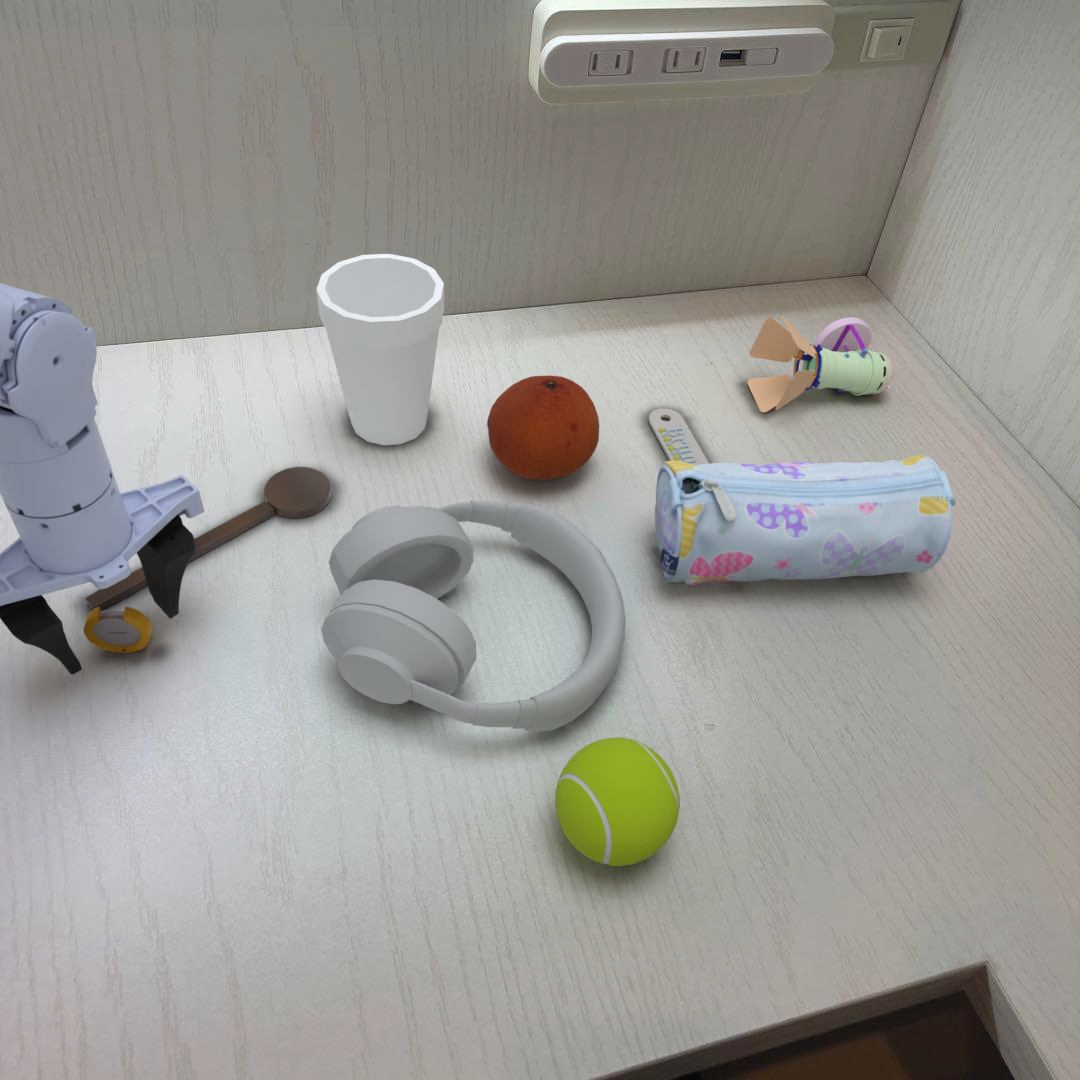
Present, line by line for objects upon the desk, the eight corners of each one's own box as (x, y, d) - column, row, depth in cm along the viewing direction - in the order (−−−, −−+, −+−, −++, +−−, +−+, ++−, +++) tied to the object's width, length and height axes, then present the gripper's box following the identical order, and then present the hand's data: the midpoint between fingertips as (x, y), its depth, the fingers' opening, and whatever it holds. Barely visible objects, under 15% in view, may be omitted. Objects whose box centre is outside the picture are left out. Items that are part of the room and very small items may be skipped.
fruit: (568, 418, 84) (577, 341, 78) (609, 486, 78) (621, 408, 73) (471, 437, 81) (472, 358, 76) (506, 508, 76) (510, 429, 70)
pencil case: (653, 605, 70) (675, 512, 63) (636, 520, 76) (654, 426, 69) (931, 600, 72) (981, 509, 65) (893, 517, 78) (935, 425, 71)
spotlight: (766, 425, 85) (803, 358, 80) (737, 362, 90) (771, 296, 85) (882, 432, 89) (926, 369, 83) (848, 372, 94) (887, 308, 88)
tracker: (93, 653, 64) (76, 616, 61) (96, 643, 65) (79, 606, 62) (155, 652, 64) (142, 615, 62) (158, 642, 65) (144, 605, 62)
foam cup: (309, 420, 82) (290, 284, 72) (390, 373, 87) (382, 241, 77) (388, 473, 78) (378, 337, 68) (467, 421, 83) (469, 288, 73)
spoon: (109, 630, 65) (106, 622, 65) (73, 588, 68) (70, 581, 67) (344, 497, 76) (343, 490, 75) (306, 465, 78) (304, 457, 77)
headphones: (309, 750, 59) (624, 765, 63) (314, 675, 54) (659, 696, 57) (333, 533, 72) (594, 556, 76) (339, 454, 66) (620, 484, 70)
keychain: (644, 407, 84) (676, 403, 85) (643, 413, 85) (675, 409, 85) (689, 489, 78) (723, 483, 78) (687, 494, 78) (722, 489, 79)
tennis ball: (623, 759, 61) (638, 695, 56) (692, 849, 57) (715, 789, 52) (529, 810, 58) (536, 748, 53) (595, 909, 54) (609, 852, 49)
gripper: (-45, 589, 48) (40, 738, 58) (213, 461, 56) (249, 612, 65) (-103, 514, 51) (-13, 667, 61) (149, 402, 59) (193, 554, 69)
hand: (119, 634), depth 63 cm, fingers open, 6 cm apart
